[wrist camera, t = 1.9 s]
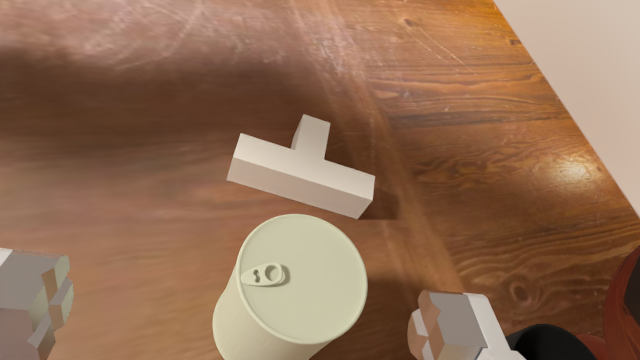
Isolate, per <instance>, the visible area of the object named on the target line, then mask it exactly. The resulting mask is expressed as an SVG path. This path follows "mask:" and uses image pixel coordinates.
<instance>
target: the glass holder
mask: <svg viewBox="0 0 640 360" xmlns="http://www.w3.org/2000/svg"><path fill="white" fill-rule="evenodd" d="M505 339H506V341H507V343H508V345H509V347H510V350H512V351H517V352H518V353H519V354H521V355H522V356H523V357H524V358H525V359H526V360H597V358H596V357H595V356H594V354H593V353H592V352H591V351H590V350H589V348H588V347H587V346H586V345H585V344H584V343H583V342H582V341H580V340H579V339H578V338H577V337H575V336H574V335H573V334H571V333H570V332H568V331H566V330H564V329H562V328H560V327H557V326H554V325H549V324H536V325H533V326H529V327H527V328H525V329H523V330H520V331H518V332H516V333H513V334H511V335H509V336H506V337H505Z"/></svg>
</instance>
